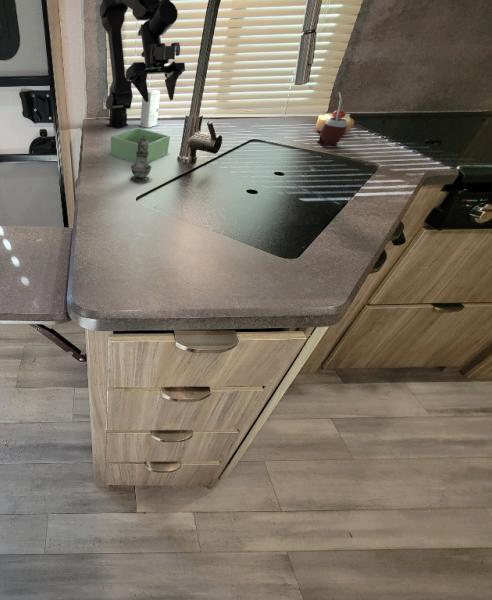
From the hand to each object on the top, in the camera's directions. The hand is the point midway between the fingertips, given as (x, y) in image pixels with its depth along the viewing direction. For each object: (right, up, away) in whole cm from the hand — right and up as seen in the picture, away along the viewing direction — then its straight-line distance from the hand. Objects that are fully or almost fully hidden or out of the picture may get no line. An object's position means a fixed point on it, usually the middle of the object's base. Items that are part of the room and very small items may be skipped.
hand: (159, 100), depth 103 cm
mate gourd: (+62, -8, +13) cm, 64 cm away
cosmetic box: (+1, +8, +31) cm, 32 cm away
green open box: (-6, -14, +6) cm, 16 cm away
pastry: (+71, +2, +23) cm, 75 cm away
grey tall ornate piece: (-7, -28, -9) cm, 31 cm away
